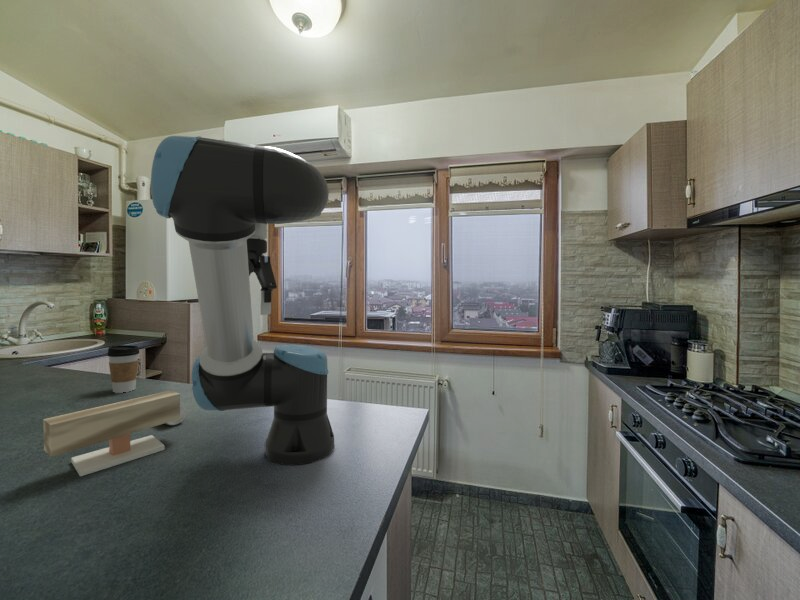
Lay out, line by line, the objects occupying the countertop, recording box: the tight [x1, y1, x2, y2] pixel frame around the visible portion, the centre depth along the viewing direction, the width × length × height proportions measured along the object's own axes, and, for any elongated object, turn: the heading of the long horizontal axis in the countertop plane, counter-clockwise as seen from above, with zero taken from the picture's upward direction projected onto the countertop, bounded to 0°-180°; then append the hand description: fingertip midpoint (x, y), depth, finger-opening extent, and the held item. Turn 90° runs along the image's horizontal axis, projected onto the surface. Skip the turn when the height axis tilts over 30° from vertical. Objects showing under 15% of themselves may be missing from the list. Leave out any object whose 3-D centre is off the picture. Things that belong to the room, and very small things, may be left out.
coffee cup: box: [106, 344, 140, 394], centre depth 116 cm, size 8×8×15 cm
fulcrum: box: [71, 434, 166, 477], centre depth 74 cm, size 8×14×5 cm, turn 142°
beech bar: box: [42, 390, 181, 458], centre depth 74 cm, size 4×22×6 cm, turn 148°
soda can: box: [164, 404, 187, 426], centre depth 93 cm, size 5×5×12 cm
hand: (252, 312), depth 100 cm, fingers open, 13 cm apart
